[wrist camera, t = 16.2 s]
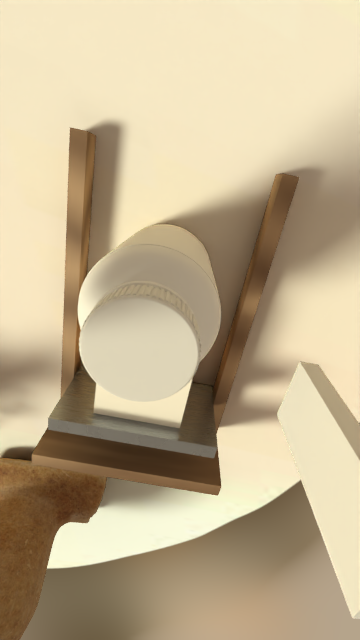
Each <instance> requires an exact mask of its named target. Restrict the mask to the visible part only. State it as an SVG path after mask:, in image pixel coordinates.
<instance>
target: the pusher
mask: <svg viewBox="0 0 360 640" xmlns="http://www.w3.org/2000/svg"><path fill="white" fill-rule="evenodd" d="M95 391H96V382H95V381H94V380H93V379H92V378H91V376H90V375H89V374H88V372H87V370H86V369H85V367H84V365H83V364H82V365H81V367H80V368H79V370H78V372H77V373H76V375H75V376H74V378H73V380H72V381H71V383H70V384H69V386H68V388H67V389H66V391H65V392H64V394H63V396H62V397H61V399H60V400H59V402H58V404H57V405H56V407H55V408H54V410H53V412H52V413H51V415H50V416H49V418H48V430H53V431H59V432H65V433H71V434H76V435H82V436H88V437H94V438H99V439H105V440H111V441H117V442H122V443H128V444H134V445H140V446H145V447H151V448H157V449H163V450H168V451H174V452H180V453H186V454H191V455H197V456H203V457H209V458H214V457H215V454H216V451H217V437H216V427H215V416H214V406H213V395H212V386H208V385H202V384H197V383H191V386H190V390H189V394H188V398H187V402H186V406H185V410H184V414H183V418H182V422H181V425H180V428H175V427H169V426H163V425H158V424H152V423H147V422H141V421H135V420H130V419H124V418H118V417H113V416H107V415H101V414H96V413H93V412H94V402H95Z"/></svg>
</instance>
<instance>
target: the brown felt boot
mask: <svg viewBox="0 0 360 640" xmlns="http://www.w3.org/2000/svg"><path fill="white" fill-rule="evenodd" d="M106 480H107V477H105V476H99V475H93V474H87V473H81V472H75V471H69V470H63V469H57V468H51V467H45V466H39V465H33V464H32V461H27V460H20V459H9V458H0V640H19V639H20V638H21V636H22V635H23V633H24V631H25V629H26V628H27V626H28V624H29V622H30V620H31V618H32V617H33V615H34V612H35V610H36V607H37V605H38V601H39V598H40V593H41V590H42V586H43V582H44V578H45V574H46V569H47V565H48V561H49V556H50V552H51V548H52V544H53V541H54V538H55V535H56V533H57V531H58V529H59V528H60V527H61V526H62V525H64V524H66V523H68V522H78V523H88V522H89V519H90V517H92V516H93V515H94V514H95V513H96V512H97V510H98V507H99V504H100V502H101V500H102V496H103V493H104V490H105V487H106Z"/></svg>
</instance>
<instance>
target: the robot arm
mask: <svg viewBox="0 0 360 640" xmlns="http://www.w3.org/2000/svg"><path fill="white" fill-rule="evenodd" d="M277 416H278V419H279V421H280V424H281V427H282V429H283V432H284V435H285V438H286V440H287V443H288V446H289V448H290V451H291V454H292V456H293V459H294V462H295V464H296V467H297V470H298V473H299V475H300V478H301V481H302V483H303V486H304V489H305V491H306V494H307V497H308V499H309V502H310V505H311V507H312V510H313V513H314V516H315V518H316V521H317V524H318V526H319V529H320V532H321V535H322V537H323V540H324V543H325V545H326V548H327V551H328V553H329V556H330V559H331V562H332V564H333V567H334V570H335V572H336V575H337V578H338V580H339V583H340V586H341V589H342V591H343V594H344V596H345V599H346V602H347V605H348V607H349V610H350V613H351V615H352V618H355V619H360V424H359V423H358V421H357V420H356V418H355V417H354V416H353V414H352V413H351V411H350V410H349V408H348V407H347V405H346V404H345V403H344V401H343V400H342V398H341V397H340V395H339V394H338V393H337V391H336V390H335V388H334V387H333V385H332V384H331V382H330V381H329V380H328V378H327V377H326V375H325V374H324V372H323V371H322V369H321V368H320V367H319V365H316V364H311V363H305V362H299V364H298V366H297V369H296V371H295V373H294V376H293V378H292V380H291V383H290V385H289V387H288V390H287V392H286V394H285V397H284V399H283V401H282V403H281V406H280V408H279V410H278V413H277Z"/></svg>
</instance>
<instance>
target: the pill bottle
mask: <svg viewBox="0 0 360 640" xmlns="http://www.w3.org/2000/svg"><path fill="white" fill-rule="evenodd" d="M78 320H79V325H80V329H81V332H80V337H79V341H80V342H79V346H80V348H79V351H80V356H81V360H82V362H83V365H84V367H85V369H86V370H87V372H88V374H89V375H90V376H91V378H92V379H93V380H94V381H95V382H96V383H97V384H98V385H99V386H100V387H102V388H103V389H104V390H106V391H107V392H109V393H111V394H113V395H115V396H117V397H120V398H123V399H126V400H131V401H138V402H149V401H156V400H161V399H164V398H167V397H169V396H171V395H173V394H175V393H177V392H178V391H180V390H181V389H182V388H183V387H185V386H186V385H187V384H188V383H189V382H190V380H191V379H192V378H193V375H195V373H196V371H197V369H198V366H199V363H200V361H201V360H202V359H203V358H204V357H205V356H206V355H207V353H208V352H209V351H210V349H211V348H212V346H213V344H214V342H215V340H216V338H217V335H218V332H219V329H220V324H221V304H220V298H219V294H218V290H217V286H216V282H215V278H214V275H213V271H212V267H211V263H210V259H209V256H208V253H207V251H206V249H205V247H204V246H203V244H202V243H201V242H200V241H199V239H198V238H197V237H196V236H194V235H193V234H192V233H190V232H189V231H187V230H186V229H184V228H181V227H179V226H175V225H170V224H157V225H152V226H148V227H146V228H143V229H142V230H140V231H138V232H137V233H135V234H134V235H133V236H131V237H130V238H128V239H127V240H126V241H124V242H123V243H122V244H120V245H119V246H118V247H116V248H115V249H114V250H112V251H111V252H109V253H108V254H107V255H105V256H104V257H103V258H102V259H100V260H99V261H98V262H97V263H96V264H95V265H94V267H93V268H92V269H91V270H90V272H89V273H88V275H87V276H86V278H85V280H84V282H83V284H82V287H81V290H80V294H79V300H78Z"/></svg>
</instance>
